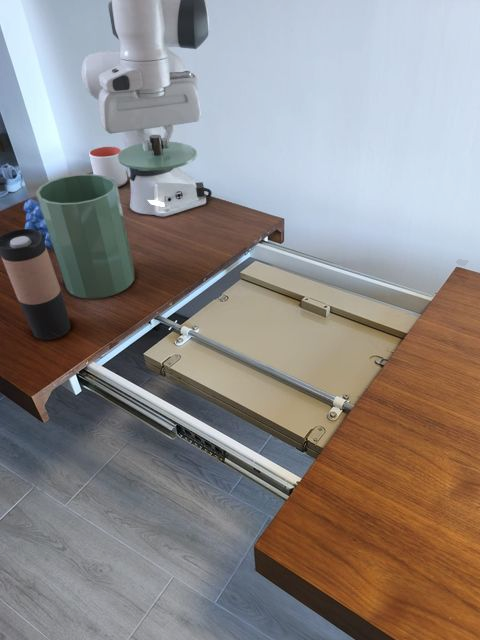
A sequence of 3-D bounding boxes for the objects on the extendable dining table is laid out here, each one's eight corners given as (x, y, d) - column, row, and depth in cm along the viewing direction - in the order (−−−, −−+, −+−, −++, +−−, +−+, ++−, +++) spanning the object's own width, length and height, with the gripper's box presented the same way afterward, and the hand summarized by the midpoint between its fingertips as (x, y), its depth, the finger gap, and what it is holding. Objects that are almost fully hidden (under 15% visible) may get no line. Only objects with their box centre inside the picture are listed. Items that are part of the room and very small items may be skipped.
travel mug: (31, 322, 96) (-5, 232, 83) (70, 314, 99) (41, 225, 86) (32, 344, 91) (-6, 252, 78) (73, 335, 93) (43, 244, 80)
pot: (124, 256, 117) (105, 169, 103) (143, 287, 106) (125, 194, 92) (60, 272, 111) (31, 182, 97) (73, 305, 101) (42, 210, 87)
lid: (181, 142, 109) (178, 121, 106) (208, 165, 98) (207, 141, 95) (110, 153, 104) (105, 131, 100) (131, 178, 92) (126, 154, 89)
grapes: (21, 244, 121) (4, 199, 114) (45, 235, 125) (31, 191, 117) (43, 260, 115) (27, 213, 108) (68, 250, 119) (55, 204, 111)
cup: (120, 190, 148) (113, 158, 141) (90, 188, 149) (82, 155, 143) (132, 179, 155) (127, 147, 149) (104, 176, 157) (98, 145, 150)
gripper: (191, 67, 96) (197, 138, 105) (89, 76, 89) (105, 152, 98) (202, 72, 92) (208, 146, 101) (97, 83, 85) (113, 161, 94)
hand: (156, 149), depth 100 cm, fingers closed on lid, 2 cm apart
